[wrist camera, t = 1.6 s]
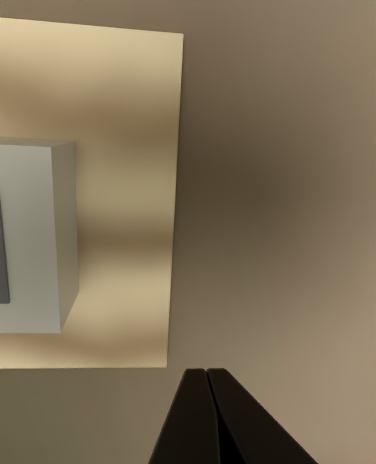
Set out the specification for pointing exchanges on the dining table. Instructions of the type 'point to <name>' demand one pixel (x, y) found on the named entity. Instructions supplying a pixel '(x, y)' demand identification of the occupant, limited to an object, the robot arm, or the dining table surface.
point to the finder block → (37, 235)
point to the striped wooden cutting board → (102, 180)
